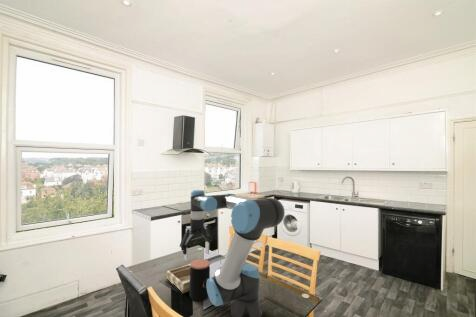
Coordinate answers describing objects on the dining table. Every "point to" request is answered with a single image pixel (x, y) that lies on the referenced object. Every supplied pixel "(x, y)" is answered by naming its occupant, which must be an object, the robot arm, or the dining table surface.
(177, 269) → the walled box
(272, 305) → the dining table surface
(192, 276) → the coffee jar
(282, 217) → the robot arm
